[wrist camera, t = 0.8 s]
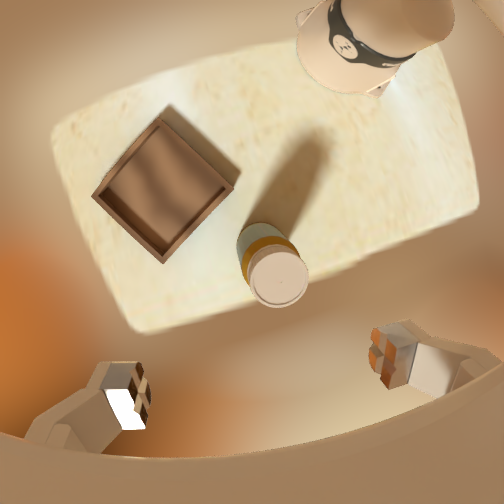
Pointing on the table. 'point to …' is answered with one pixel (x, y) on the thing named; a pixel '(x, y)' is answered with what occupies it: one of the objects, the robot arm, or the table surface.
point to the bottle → (271, 265)
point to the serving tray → (161, 190)
